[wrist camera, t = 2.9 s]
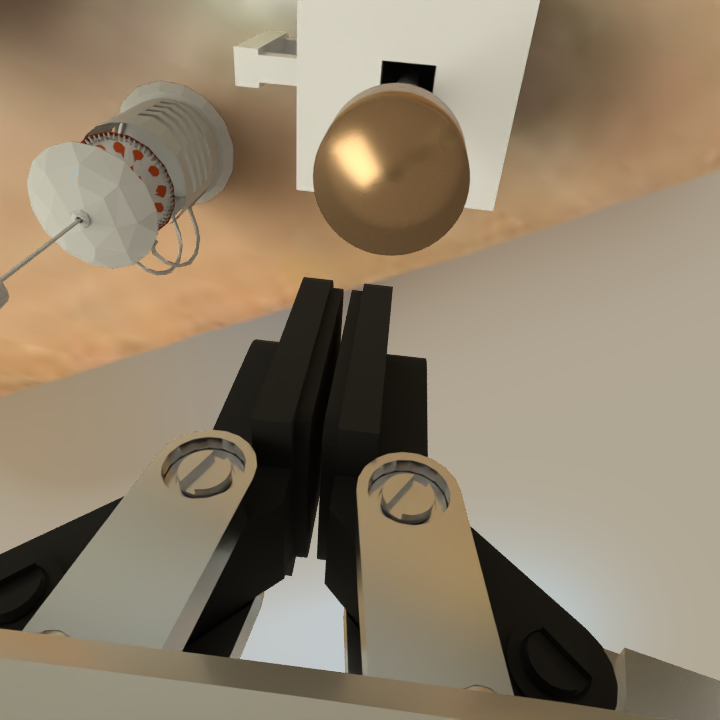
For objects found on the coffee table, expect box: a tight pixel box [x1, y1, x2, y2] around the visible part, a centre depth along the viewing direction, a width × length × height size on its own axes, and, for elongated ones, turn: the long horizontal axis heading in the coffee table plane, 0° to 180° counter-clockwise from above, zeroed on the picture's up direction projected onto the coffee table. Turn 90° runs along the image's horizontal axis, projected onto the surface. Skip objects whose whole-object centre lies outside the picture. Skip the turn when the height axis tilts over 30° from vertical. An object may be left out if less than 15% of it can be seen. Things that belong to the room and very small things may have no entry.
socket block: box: [233, 0, 540, 211], centre depth 34 cm, size 16×12×13 cm
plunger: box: [313, 68, 470, 256], centre depth 25 cm, size 5×5×18 cm
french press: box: [0, 81, 234, 309], centre depth 36 cm, size 10×12×25 cm
